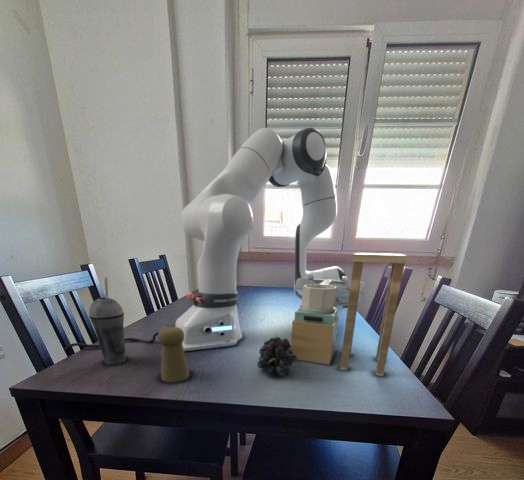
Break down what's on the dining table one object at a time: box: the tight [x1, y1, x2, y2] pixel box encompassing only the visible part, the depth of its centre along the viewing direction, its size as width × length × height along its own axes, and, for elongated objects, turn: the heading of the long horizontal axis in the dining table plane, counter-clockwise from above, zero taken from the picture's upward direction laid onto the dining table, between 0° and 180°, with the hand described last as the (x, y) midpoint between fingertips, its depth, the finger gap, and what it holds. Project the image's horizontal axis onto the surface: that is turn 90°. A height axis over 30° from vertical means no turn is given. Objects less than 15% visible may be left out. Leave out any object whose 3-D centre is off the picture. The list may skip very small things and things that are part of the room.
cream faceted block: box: [301, 280, 337, 310], centre depth 75 cm, size 19×8×5 cm, turn 160°
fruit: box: [257, 336, 298, 376], centre depth 66 cm, size 9×8×15 cm
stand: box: [339, 252, 408, 377], centre depth 65 cm, size 12×10×26 cm
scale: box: [290, 304, 340, 366], centre depth 73 cm, size 10×10×13 cm
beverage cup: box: [88, 277, 126, 365], centre depth 66 cm, size 7×7×20 cm
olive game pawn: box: [157, 326, 190, 383], centre depth 60 cm, size 6×6×11 cm
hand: (327, 278), depth 79 cm, fingers open, 8 cm apart
